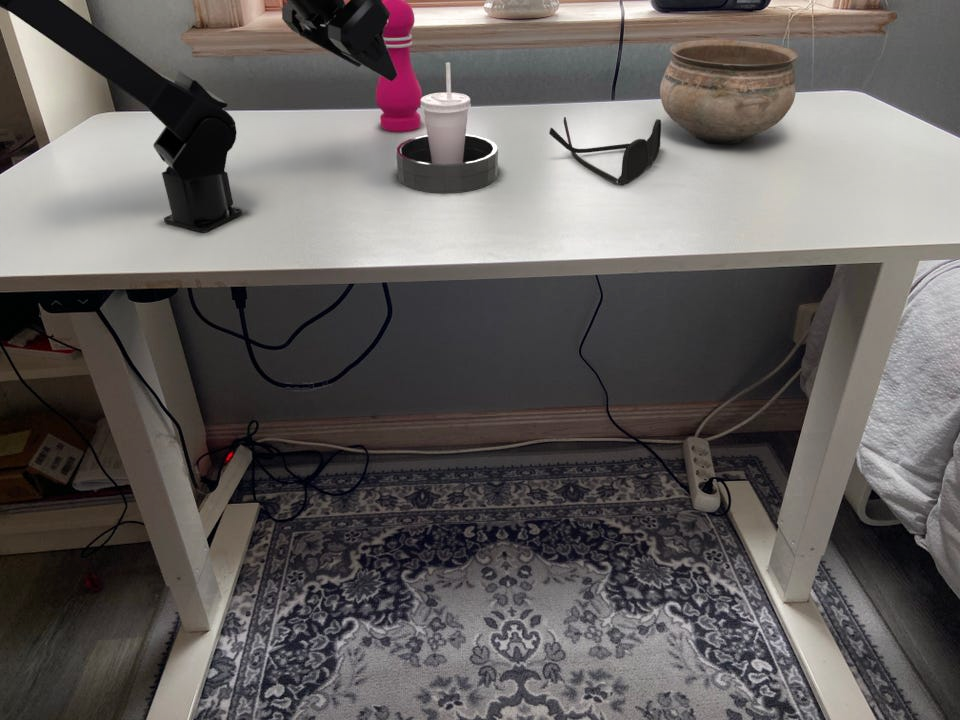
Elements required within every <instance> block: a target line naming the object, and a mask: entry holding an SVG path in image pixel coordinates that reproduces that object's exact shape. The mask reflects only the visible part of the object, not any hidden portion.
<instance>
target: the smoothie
mask: <svg viewBox="0 0 960 720" xmlns="http://www.w3.org/2000/svg"><path fill="white" fill-rule="evenodd" d="M451 71H452V69H451V62H448V61H447V62H445V80H446V81H445V82H446V83H445V84H446V86H445V87H446V92H434V93H429V94H426V95H424V96H422V98H421V105H420V109H422V111H423V116H424V122H425V129H426V135H428V140H429V146H430V152H431V158H432V163H434V164H456V163H463V154H464V144H465V135H466V134H467V126H468V125H467V123H468V115H469V114H468V113H469V109H470V108H471V106H472V105H471V97H470V96H468V95H467V94H464V93H460V92H452V76H451V73H452V72H451Z"/></svg>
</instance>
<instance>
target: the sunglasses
mask: <svg viewBox="0 0 960 720" xmlns="http://www.w3.org/2000/svg"><path fill="white" fill-rule="evenodd" d="M563 126H564V130H565V134H566V138H567V141H566V140H565V139H564V138H563V137H562V136H561V135H560V134H559V133H558V132H557V131H556V130H555V128H553V127H549V128H550V129H549V132H548V134H549V135H550V136H551V137H552V138H553V139H554V140H555V141H557V142H558V143H559V144H560V145H562V147H564V148H565V149H566V150H567V151H570V153H571V156H573V158H574V159H575V160H576V161H577V162H579V164H581V165H583V167H586V168H587V169H589V170H590V171H592V172H594V173H595V174H597V175H599V176H601V177H603V178H605V179H606V180H609V181H610V182H612V183H614V184H620V185H625V184H627V183H630V182H632V181H634V180H635V179H637V178H639V176H641V174H643V173H644V172H645V171H646V170H647V168H648V167H650V166H651V165H652V164H653V162H654V161H655V160H656V159H657V157H658V155H659V152H660V148H661V136H662V119H660V118H657V119H655V121H654V124H653V126H652V130H651V134H650V135H649V137H648V138H647V140H646V139H645V138H638V139H634V140H633V141H631V142H630V143H620V144H613V145H612V144H611V145H605V146H598V147H589V148H588V147H587V148H576V147H573V144H572V140H571V135H570V131H569V126H568V121H567V117H566V116H563ZM617 150H624V152H623V154H622V161H621V172H620V173H621V174H620V176H618V178H617V177H616V176H613V175H611V174H610V173H607V172H606V171H604V170H603V169H602V170H601V169H600V168H598V167H597V166H594V165H593V164H591V163H589V162H587V161H586V160H585V159H583V158H582V157H580V156H579V155H578V154H587V153H588V154H589V153H597V152H607V151H617Z"/></svg>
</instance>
